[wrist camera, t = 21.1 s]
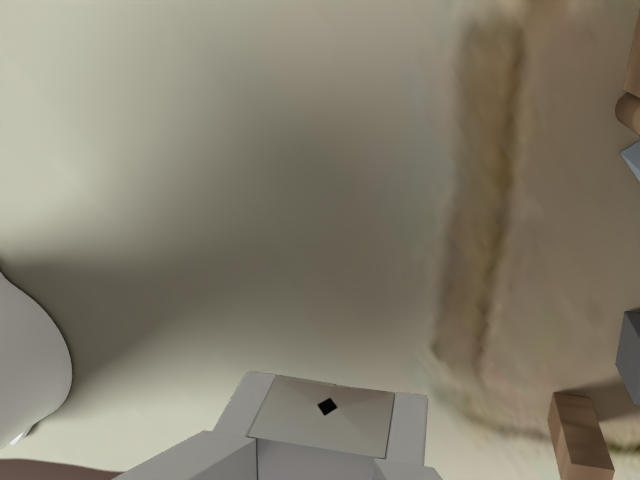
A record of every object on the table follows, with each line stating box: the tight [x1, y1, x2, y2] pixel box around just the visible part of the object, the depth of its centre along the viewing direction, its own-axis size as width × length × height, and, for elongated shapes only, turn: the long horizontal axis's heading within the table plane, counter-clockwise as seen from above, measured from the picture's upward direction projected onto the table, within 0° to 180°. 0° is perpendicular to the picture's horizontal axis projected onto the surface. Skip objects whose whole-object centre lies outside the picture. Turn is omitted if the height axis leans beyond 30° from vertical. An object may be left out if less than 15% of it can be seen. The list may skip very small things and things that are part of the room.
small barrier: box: [548, 11, 640, 480], centre depth 33 cm, size 2×33×7 cm, turn 179°
